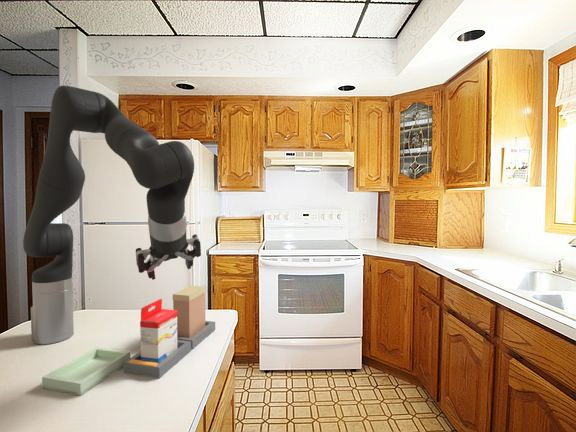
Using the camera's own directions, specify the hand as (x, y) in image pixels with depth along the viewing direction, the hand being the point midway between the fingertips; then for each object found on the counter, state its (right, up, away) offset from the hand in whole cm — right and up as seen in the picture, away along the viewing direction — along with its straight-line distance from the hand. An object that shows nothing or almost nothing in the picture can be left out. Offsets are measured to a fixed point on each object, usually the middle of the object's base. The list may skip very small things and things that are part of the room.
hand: (170, 271), depth 77 cm
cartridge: (+1, -22, +14) cm, 26 cm away
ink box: (-3, -23, 0) cm, 23 cm away
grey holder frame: (-1, -22, +7) cm, 23 cm away
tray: (-16, -23, -6) cm, 29 cm away
